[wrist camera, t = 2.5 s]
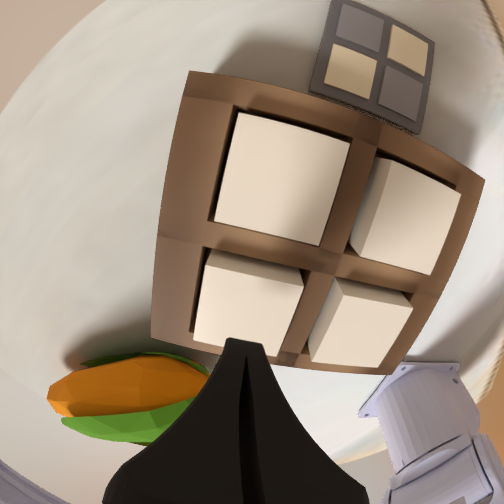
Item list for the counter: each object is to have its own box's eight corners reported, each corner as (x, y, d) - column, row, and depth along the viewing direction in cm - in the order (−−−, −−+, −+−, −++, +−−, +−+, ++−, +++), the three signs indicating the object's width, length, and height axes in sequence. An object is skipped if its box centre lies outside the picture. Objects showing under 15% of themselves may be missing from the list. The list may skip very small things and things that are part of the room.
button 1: (398, 289, 14) (413, 308, 13) (368, 346, 16) (377, 367, 14) (333, 275, 14) (343, 295, 12) (306, 338, 16) (311, 361, 14)
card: (431, 43, 11) (436, 41, 10) (416, 134, 13) (421, 134, 13) (332, -3, 10) (334, -7, 10) (308, 91, 13) (310, 89, 12)
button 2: (439, 186, 12) (461, 194, 10) (412, 259, 14) (430, 275, 12) (373, 156, 12) (392, 160, 10) (347, 240, 13) (359, 256, 11)
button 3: (298, 267, 14) (304, 286, 12) (274, 333, 16) (276, 356, 14) (212, 247, 14) (205, 264, 12) (199, 317, 15) (192, 340, 13)
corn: (234, 464, 14) (59, 448, 17) (242, 388, 21) (86, 403, 24) (174, 399, 12) (11, 398, 15) (202, 319, 19) (48, 355, 22)
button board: (451, 169, 14) (485, 179, 11) (376, 344, 19) (391, 375, 16) (204, 85, 13) (189, 70, 9) (166, 305, 18) (150, 337, 15)
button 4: (336, 142, 12) (349, 143, 10) (310, 230, 13) (318, 245, 11) (241, 117, 11) (239, 112, 9) (220, 208, 13) (213, 220, 11)
